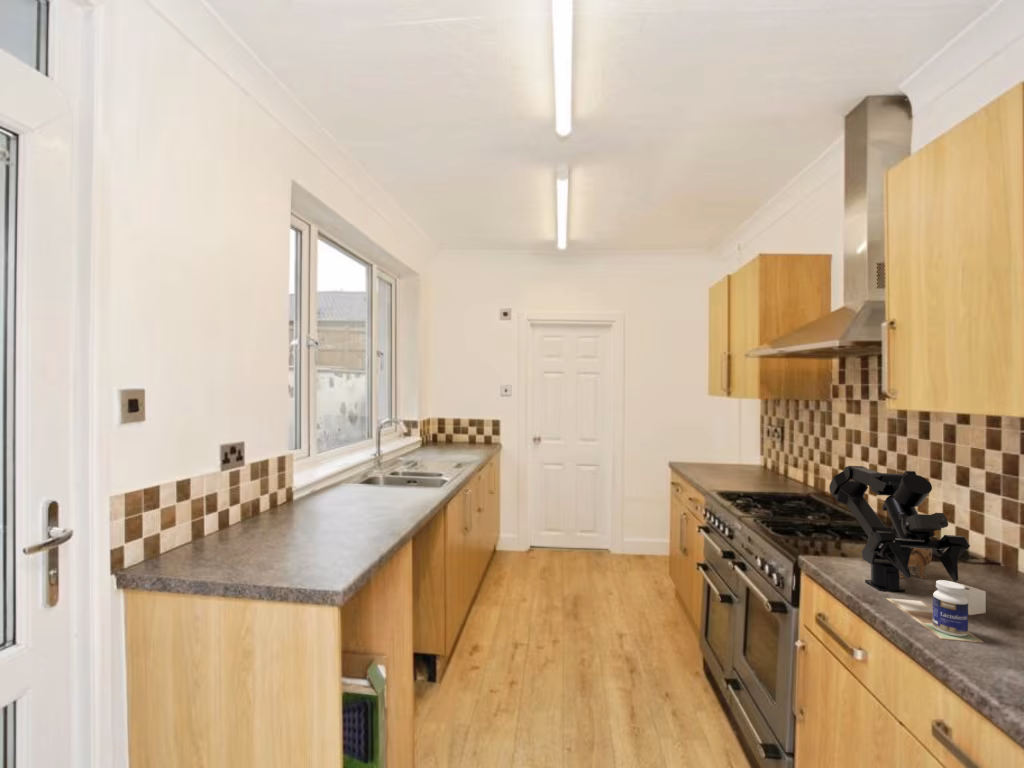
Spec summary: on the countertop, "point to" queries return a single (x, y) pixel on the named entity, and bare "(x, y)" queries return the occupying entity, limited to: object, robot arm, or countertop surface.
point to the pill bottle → (950, 608)
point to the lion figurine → (919, 560)
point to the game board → (927, 618)
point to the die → (975, 600)
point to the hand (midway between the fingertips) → (932, 579)
